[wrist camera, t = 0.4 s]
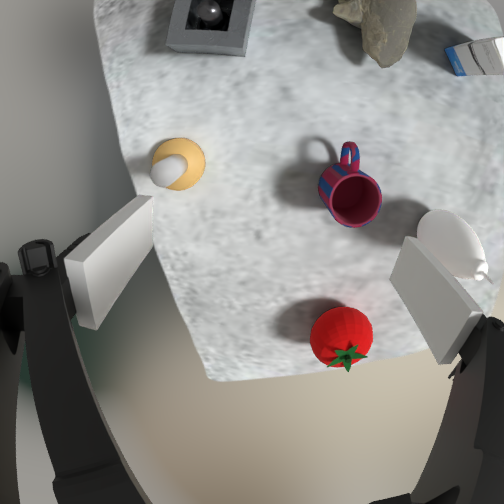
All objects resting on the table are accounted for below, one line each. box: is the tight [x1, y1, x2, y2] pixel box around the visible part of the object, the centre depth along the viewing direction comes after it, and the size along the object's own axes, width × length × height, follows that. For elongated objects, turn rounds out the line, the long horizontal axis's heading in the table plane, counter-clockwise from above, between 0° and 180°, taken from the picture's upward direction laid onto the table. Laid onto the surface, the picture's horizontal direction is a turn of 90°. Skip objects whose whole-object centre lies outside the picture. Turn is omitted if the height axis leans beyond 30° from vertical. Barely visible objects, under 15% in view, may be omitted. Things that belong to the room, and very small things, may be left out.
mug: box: [318, 141, 382, 228], centre depth 34 cm, size 7×10×7 cm
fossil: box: [333, 0, 417, 68], centre depth 23 cm, size 14×10×10 cm
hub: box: [150, 138, 205, 191], centre depth 34 cm, size 7×7×8 cm
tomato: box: [310, 307, 373, 372], centre depth 44 cm, size 10×10×10 cm
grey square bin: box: [165, 0, 256, 57], centre depth 26 cm, size 9×9×5 cm
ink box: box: [445, 36, 504, 76], centre depth 22 cm, size 8×5×12 cm, turn 120°
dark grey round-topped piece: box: [197, 0, 230, 31], centre depth 26 cm, size 4×4×6 cm
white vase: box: [417, 209, 494, 284], centre depth 32 cm, size 8×8×18 cm
